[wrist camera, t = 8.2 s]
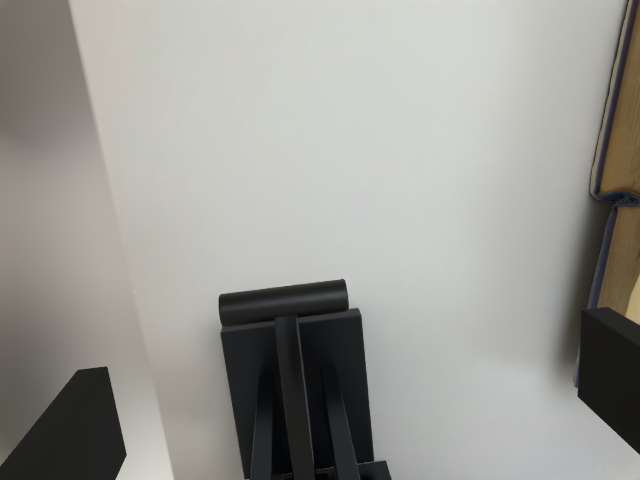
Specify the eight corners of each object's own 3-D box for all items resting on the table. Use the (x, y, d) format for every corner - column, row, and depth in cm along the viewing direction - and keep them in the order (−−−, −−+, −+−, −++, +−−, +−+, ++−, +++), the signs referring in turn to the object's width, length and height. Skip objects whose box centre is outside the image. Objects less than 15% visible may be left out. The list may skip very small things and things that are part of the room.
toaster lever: (223, 293, 25) (215, 295, 22) (342, 278, 25) (346, 279, 22) (250, 542, 24) (245, 573, 21) (372, 524, 24) (380, 552, 22)
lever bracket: (222, 324, 32) (185, 454, 20) (358, 307, 32) (406, 423, 20) (245, 468, 35) (226, 662, 22) (371, 450, 35) (420, 630, 23)
